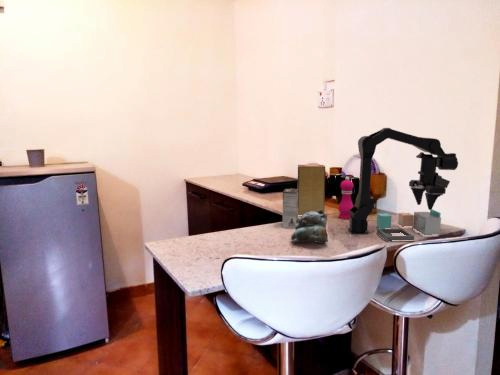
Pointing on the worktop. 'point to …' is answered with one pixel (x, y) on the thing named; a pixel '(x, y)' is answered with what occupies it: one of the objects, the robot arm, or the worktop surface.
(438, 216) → the panel
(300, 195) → the food packaging
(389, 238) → the parts tray
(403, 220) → the terracotta block
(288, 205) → the coffee box
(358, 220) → the robot arm
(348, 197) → the pepper mill
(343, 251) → the worktop surface
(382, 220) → the teal block
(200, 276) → the worktop surface
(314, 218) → the grey-green lumpy figure
